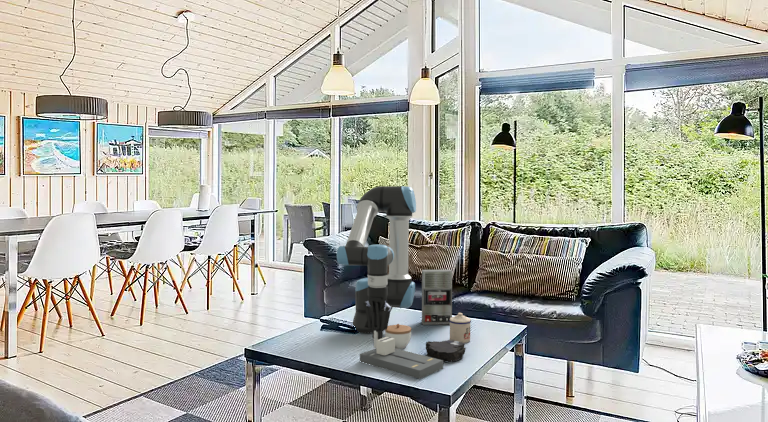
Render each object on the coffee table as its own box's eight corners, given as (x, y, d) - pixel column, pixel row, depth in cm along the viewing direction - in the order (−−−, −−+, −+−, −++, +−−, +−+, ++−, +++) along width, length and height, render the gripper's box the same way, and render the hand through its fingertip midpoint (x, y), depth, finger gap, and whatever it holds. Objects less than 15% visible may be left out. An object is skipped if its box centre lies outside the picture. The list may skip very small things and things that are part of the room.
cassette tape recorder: (422, 325, 268) (422, 272, 266) (421, 322, 274) (421, 269, 272) (452, 325, 268) (452, 271, 267) (450, 321, 274) (450, 269, 273)
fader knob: (376, 353, 216) (376, 339, 215) (386, 349, 220) (386, 336, 220) (384, 355, 213) (384, 341, 213) (395, 351, 218) (394, 338, 217)
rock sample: (464, 364, 214) (465, 351, 213) (422, 362, 216) (422, 349, 216) (466, 350, 231) (466, 338, 230) (427, 348, 233) (427, 336, 233)
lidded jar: (414, 344, 238) (414, 321, 237) (406, 351, 228) (406, 328, 227) (389, 341, 242) (389, 319, 241) (381, 349, 231) (381, 326, 231)
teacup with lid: (468, 344, 237) (468, 316, 237) (446, 342, 241) (446, 314, 240) (474, 336, 249) (474, 310, 248) (454, 334, 252) (454, 308, 251)
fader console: (359, 361, 216) (359, 353, 216) (384, 353, 227) (384, 345, 226) (419, 379, 198) (419, 370, 198) (443, 368, 208) (443, 360, 208)
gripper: (358, 285, 219) (358, 346, 220) (384, 289, 210) (384, 353, 212) (371, 282, 224) (371, 341, 226) (397, 286, 216) (397, 348, 217)
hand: (377, 347), depth 219 cm, fingers closed
